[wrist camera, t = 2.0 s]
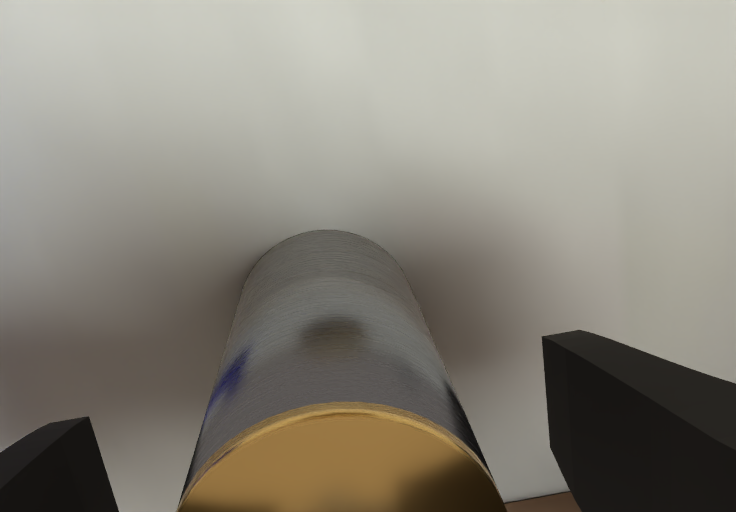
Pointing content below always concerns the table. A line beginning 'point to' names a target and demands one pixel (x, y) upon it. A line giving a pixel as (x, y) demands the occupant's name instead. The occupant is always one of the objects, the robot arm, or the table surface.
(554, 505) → the dock plate
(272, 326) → the peg
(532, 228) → the table surface
